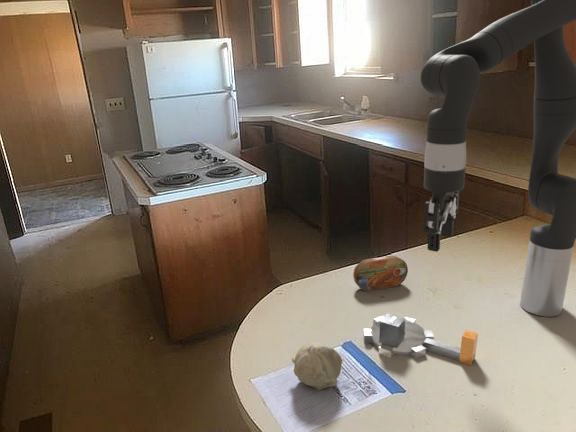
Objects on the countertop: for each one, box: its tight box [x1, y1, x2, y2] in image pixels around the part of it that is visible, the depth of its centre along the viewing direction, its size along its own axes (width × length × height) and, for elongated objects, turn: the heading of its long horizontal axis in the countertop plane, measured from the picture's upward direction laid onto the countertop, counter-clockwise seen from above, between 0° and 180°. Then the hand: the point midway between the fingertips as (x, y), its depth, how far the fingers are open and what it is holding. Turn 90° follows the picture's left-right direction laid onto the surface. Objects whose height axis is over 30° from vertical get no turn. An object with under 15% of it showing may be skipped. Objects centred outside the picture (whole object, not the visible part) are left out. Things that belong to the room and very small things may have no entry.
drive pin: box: [424, 329, 479, 367], centre depth 100 cm, size 3×10×6 cm, turn 56°
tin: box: [352, 255, 409, 292], centre depth 131 cm, size 15×3×8 cm, turn 105°
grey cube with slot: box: [379, 313, 405, 348], centre depth 103 cm, size 4×4×5 cm
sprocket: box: [363, 315, 435, 359], centre depth 107 cm, size 15×14×2 cm
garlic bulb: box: [291, 341, 343, 391], centre depth 93 cm, size 9×8×10 cm
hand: (440, 242), depth 99 cm, fingers open, 8 cm apart
